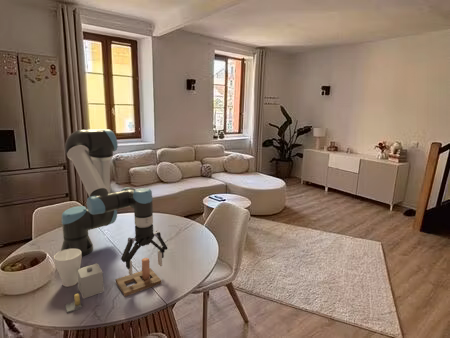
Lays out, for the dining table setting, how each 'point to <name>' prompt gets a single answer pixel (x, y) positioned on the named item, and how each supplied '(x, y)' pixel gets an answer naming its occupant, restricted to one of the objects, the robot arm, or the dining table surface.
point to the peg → (145, 269)
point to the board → (137, 282)
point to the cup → (68, 265)
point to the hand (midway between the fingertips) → (145, 269)
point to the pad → (74, 304)
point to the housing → (90, 280)
